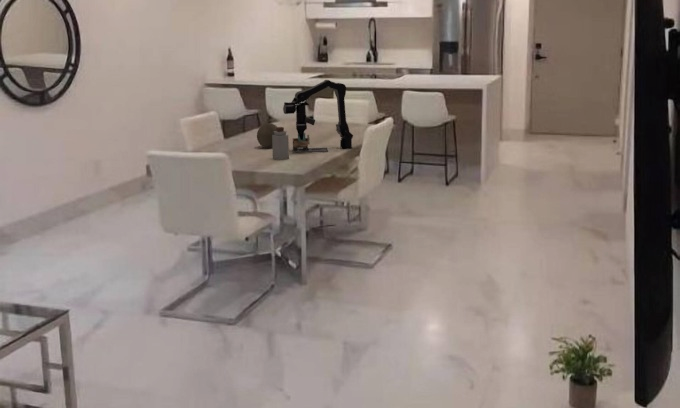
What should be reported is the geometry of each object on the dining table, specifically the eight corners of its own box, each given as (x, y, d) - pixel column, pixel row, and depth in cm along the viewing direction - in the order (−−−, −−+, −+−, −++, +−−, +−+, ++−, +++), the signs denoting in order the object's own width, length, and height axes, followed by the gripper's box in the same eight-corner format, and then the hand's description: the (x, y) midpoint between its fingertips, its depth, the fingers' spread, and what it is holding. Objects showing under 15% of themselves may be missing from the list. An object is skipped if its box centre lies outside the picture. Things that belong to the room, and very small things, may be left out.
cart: (309, 147, 460) (308, 134, 458) (309, 150, 448) (309, 137, 447) (292, 147, 459) (292, 135, 458) (292, 151, 448) (292, 138, 446)
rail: (327, 149, 461) (327, 147, 460) (328, 152, 450) (328, 150, 450) (292, 149, 459) (292, 148, 459) (293, 153, 449) (292, 151, 448)
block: (297, 140, 455) (297, 132, 454) (305, 140, 455) (305, 132, 454) (298, 141, 450) (297, 134, 449) (305, 141, 451) (305, 133, 450)
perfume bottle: (279, 160, 428) (277, 128, 423) (272, 158, 433) (271, 127, 429) (289, 158, 432) (288, 127, 427) (282, 156, 437) (281, 126, 432)
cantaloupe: (276, 149, 461) (275, 125, 457) (254, 149, 463) (253, 125, 460) (282, 145, 474) (282, 122, 470) (261, 145, 477) (260, 121, 473)
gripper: (314, 114, 440) (315, 141, 444) (314, 110, 458) (314, 136, 462) (295, 115, 439) (296, 141, 443) (295, 111, 457) (296, 136, 461)
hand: (301, 138), depth 452 cm, fingers open, 5 cm apart
